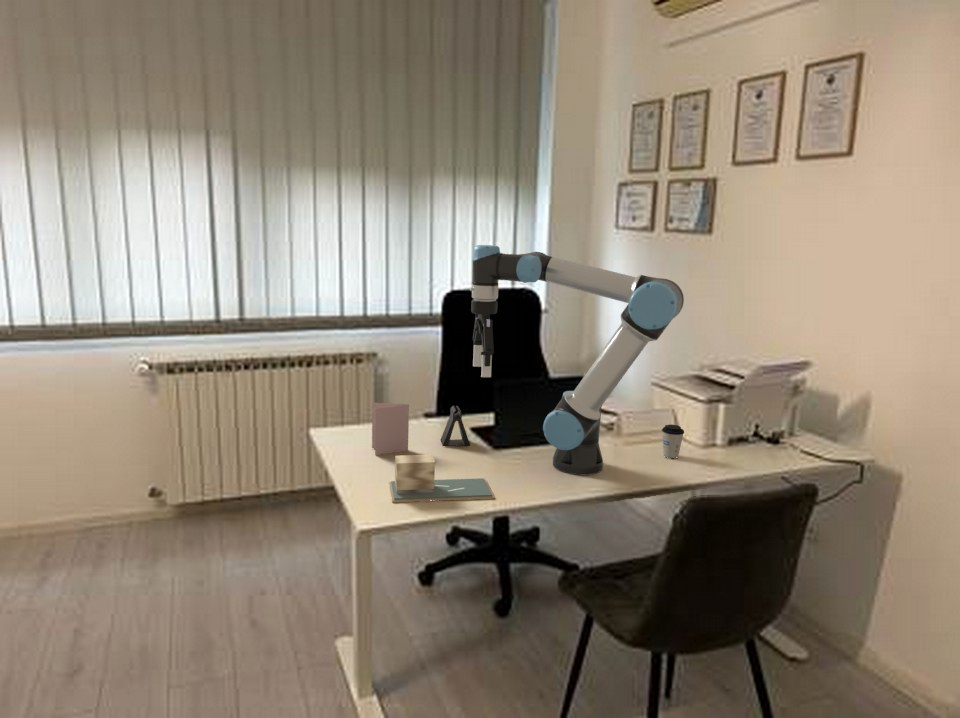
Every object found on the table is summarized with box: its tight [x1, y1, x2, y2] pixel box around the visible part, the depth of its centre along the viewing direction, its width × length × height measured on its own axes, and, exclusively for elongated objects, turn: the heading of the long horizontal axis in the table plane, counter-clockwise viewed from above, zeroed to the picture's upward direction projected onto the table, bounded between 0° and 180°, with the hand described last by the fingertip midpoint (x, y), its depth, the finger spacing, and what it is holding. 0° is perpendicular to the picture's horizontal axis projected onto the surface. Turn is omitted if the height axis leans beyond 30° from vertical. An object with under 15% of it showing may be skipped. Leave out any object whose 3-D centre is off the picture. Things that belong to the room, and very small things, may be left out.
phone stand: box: [440, 405, 471, 447], centre depth 239 cm, size 9×6×12 cm, turn 100°
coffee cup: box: [661, 424, 685, 459], centre depth 234 cm, size 7×7×10 cm
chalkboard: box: [388, 477, 495, 504], centre depth 200 cm, size 27×13×1 cm, turn 101°
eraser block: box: [394, 454, 436, 494], centre depth 197 cm, size 10×6×8 cm, turn 101°
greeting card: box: [371, 402, 410, 456], centre depth 228 cm, size 11×7×15 cm, turn 89°
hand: (481, 371), depth 216 cm, fingers open, 13 cm apart
